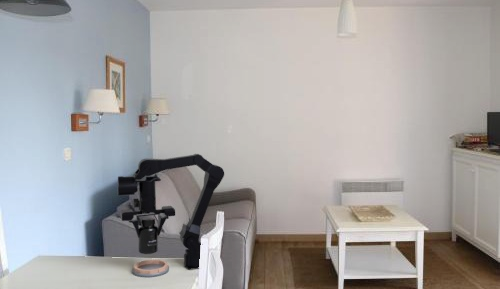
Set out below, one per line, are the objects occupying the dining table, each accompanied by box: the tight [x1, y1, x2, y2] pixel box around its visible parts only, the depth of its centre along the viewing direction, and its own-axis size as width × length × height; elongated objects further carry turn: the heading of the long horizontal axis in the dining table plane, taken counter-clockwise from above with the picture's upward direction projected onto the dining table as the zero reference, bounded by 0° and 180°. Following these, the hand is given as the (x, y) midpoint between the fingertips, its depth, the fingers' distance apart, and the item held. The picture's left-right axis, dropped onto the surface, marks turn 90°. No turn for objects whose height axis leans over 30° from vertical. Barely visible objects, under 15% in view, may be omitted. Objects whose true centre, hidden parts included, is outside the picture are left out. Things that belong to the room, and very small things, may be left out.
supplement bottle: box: [138, 217, 159, 255], centre depth 156 cm, size 7×7×12 cm
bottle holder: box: [132, 258, 170, 278], centre depth 157 cm, size 13×13×2 cm
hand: (148, 236), depth 156 cm, fingers closed on supplement bottle, 7 cm apart
